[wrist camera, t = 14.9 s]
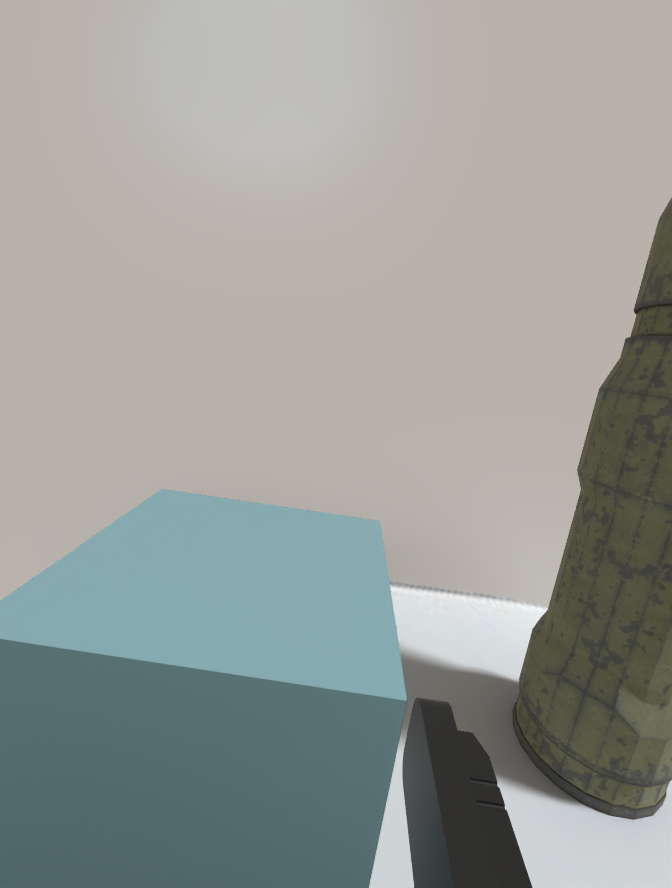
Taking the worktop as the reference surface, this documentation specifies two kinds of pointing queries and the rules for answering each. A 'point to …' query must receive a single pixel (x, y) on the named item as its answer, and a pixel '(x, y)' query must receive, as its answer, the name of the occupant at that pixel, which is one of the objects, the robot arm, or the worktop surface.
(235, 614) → the teal block
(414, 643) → the worktop surface
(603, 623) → the thermos
